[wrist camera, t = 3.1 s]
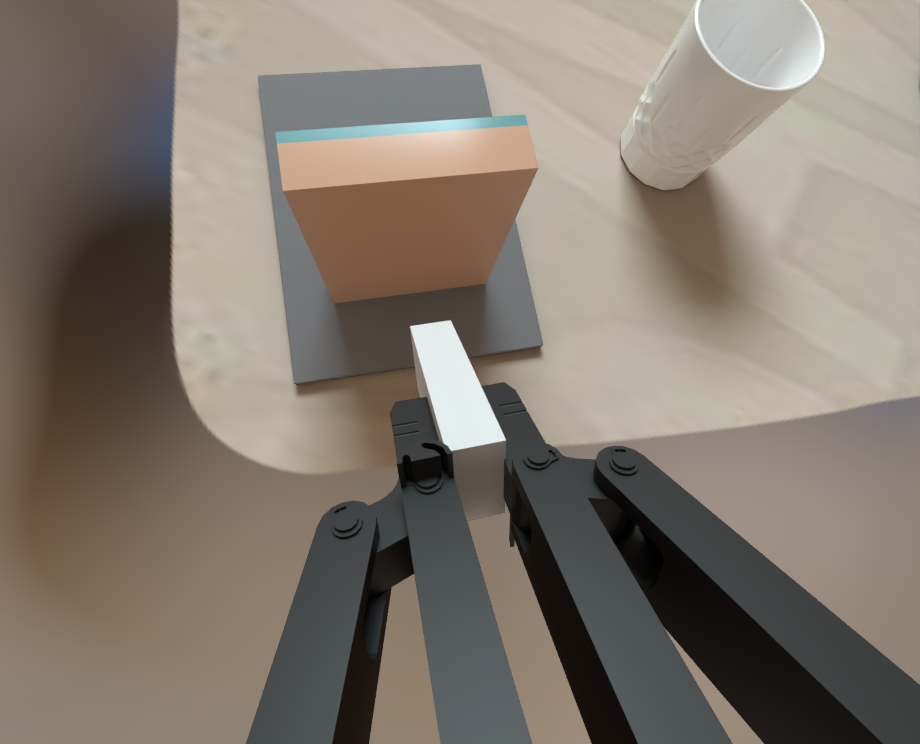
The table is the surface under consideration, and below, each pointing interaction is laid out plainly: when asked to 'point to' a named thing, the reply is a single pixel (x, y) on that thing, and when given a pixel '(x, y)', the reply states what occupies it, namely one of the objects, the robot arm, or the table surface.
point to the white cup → (719, 85)
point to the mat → (389, 318)
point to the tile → (407, 201)
